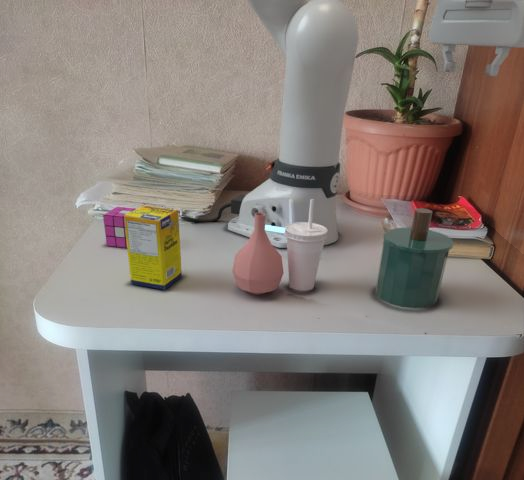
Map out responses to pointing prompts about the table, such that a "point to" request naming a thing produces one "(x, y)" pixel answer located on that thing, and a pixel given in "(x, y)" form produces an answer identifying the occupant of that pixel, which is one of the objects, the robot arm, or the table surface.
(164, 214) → the supplement box
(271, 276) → the pink vase
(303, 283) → the smoothie
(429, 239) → the lid
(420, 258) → the crock
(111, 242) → the puzzle toy
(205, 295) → the table surface
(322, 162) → the robot arm
